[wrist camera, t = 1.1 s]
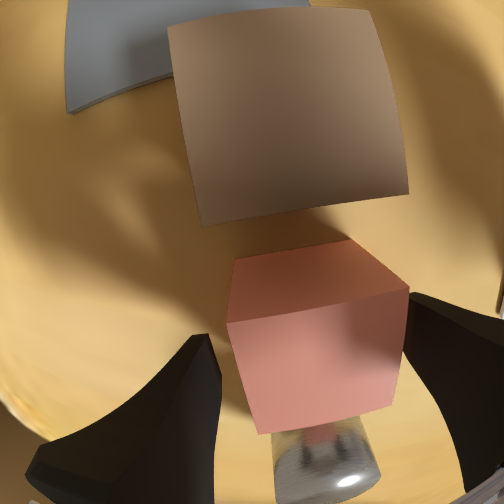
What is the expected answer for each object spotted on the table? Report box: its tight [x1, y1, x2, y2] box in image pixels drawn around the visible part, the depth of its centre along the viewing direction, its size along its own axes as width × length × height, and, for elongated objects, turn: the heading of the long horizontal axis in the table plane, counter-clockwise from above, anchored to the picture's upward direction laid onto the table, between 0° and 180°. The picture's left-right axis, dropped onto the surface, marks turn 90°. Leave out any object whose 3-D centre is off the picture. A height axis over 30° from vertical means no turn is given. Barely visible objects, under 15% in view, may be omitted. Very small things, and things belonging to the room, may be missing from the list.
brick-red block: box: [226, 239, 410, 435], centre depth 10 cm, size 5×5×5 cm
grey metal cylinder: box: [271, 415, 381, 504], centre depth 12 cm, size 5×5×6 cm
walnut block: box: [167, 6, 409, 227], centre depth 8 cm, size 5×5×5 cm
